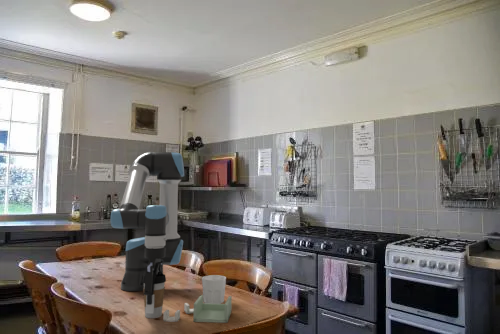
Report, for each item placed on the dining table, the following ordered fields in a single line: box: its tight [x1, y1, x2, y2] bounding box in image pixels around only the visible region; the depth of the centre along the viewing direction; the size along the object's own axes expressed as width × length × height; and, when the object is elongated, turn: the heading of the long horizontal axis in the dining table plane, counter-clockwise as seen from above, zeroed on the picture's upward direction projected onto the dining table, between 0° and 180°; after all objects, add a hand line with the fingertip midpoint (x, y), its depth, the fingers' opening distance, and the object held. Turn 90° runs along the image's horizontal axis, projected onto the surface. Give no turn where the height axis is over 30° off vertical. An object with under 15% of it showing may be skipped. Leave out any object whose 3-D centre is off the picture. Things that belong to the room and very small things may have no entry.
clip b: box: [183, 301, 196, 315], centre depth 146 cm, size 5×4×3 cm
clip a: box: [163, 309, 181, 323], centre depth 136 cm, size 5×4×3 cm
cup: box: [201, 274, 227, 304], centre depth 159 cm, size 10×10×10 cm
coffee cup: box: [143, 273, 167, 319], centre depth 141 cm, size 8×8×15 cm
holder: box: [192, 294, 233, 324], centre depth 140 cm, size 12×12×6 cm
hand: (153, 309), depth 141 cm, fingers closed on coffee cup, 7 cm apart
